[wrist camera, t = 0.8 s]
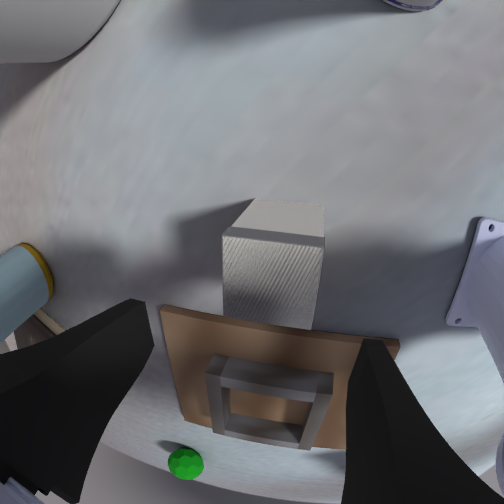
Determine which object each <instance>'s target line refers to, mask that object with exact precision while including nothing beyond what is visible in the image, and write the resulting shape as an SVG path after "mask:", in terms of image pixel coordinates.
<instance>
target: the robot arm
mask: <svg viewBox="0 0 504 504" xmlns="http://www.w3.org/2000/svg"><path fill="white" fill-rule="evenodd" d="M491 224H492V227H491V229H490V230H488V228H489V225H491ZM458 318H459V319H458ZM456 319H458V320H457V321H456ZM446 323H447V324H448V325H449V326H461V327H478V329H479V331H480V333H481V335H482V337H483V339H484V341H485V343H486V345H487V347H488V349H489V351H490V353H491V355H492V358H493V360H494V362H495V364H496V366H497V369H498V371H499V373H500V375H501V378H502V380H503V383H504V222H503V221H499V220H495V219H491V218H486V217H483V218H481V219H480V220H479V222H478V224H477V228H476V232H475V236H474V239H473V243H472V246H471V250H470V253H469V256H468V260H467V263H466V266H465V269H464V272H463V275H462V278H461V280H460V283H459V286H458V289H457V291H456V294H455V297H454V299H453V302H452V304H451V307H450V309H449V311H448V314H447V316H446ZM153 347H154V342H153V337H152V333H151V329H150V324H149V319H148V315H147V310H146V305H145V302H143V301H139V300H135V299H128V300H126V301H124V302H122V303H119V304H117V305H115V306H113V307H111V308H109V309H108V310H106V311H104V312H102V313H100V314H98V315H96V316H94V317H92V318H90V319H88V320H86V321H84V322H83V323H81V324H79V325H77V326H75V327H72V328H70V329H68V330H66V331H64V332H62V333H60V334H58V335H56V336H54V337H51V338H49V339H46V340H44V341H42V342H39V343H36V344H33V345H31V346H28V347H25V348H21V349H18V350H14V351H11V352H7V353H4V354H0V504H44V503H43V502H42V501H40V500H39V499H38V498H37V497H36V496H34V495H35V494H36V492H37V491H38V490H39V491H40V492H41V493H43V494H44V495H46V496H47V495H48V494H49V492H50V491H52V492H53V493H55V494H56V495H58V496H59V497H61V498H62V499H64V500H65V501H67V502H68V503H70V504H76V503H78V502H79V500H80V495H81V492H82V488H83V484H84V481H85V477H86V474H87V471H88V468H89V465H90V463H91V460H92V457H93V455H94V453H95V450H96V448H97V445H98V443H99V441H100V439H101V436H102V434H103V432H104V430H105V428H106V426H107V424H108V422H109V420H110V419H111V417H112V415H113V413H114V412H115V410H116V409H117V407H118V406H119V404H120V403H121V401H122V400H123V398H124V397H125V395H126V394H127V392H128V391H129V389H130V388H131V386H132V385H133V383H134V382H135V380H136V379H137V377H138V376H139V374H140V373H141V371H142V370H143V368H144V366H145V364H146V362H147V360H148V358H149V356H150V354H151V352H152V349H153ZM496 473H497V479H498V482H499V486H500V488H501V491H502V493H503V495H504V434H503V436H502V438H501V440H500V442H499V445H498V449H497V453H496ZM341 504H504V498H503V497H502V496H500V495H499V494H498V493H496V492H495V491H494V490H492V489H491V488H490V487H489V486H488V485H487V484H486V483H485V482H484V481H482V480H481V479H480V478H479V477H478V476H477V475H476V474H475V473H474V472H473V471H472V470H471V469H470V468H469V467H468V466H467V465H466V464H465V463H464V461H463V460H462V459H461V458H460V457H459V456H458V455H457V454H456V453H455V452H454V450H453V449H452V448H451V447H450V446H449V444H448V443H447V442H446V441H445V439H444V438H443V437H442V435H441V434H440V433H439V432H438V430H437V429H436V428H435V426H434V425H433V423H432V422H431V421H430V419H429V418H428V416H427V415H426V413H425V412H424V410H423V408H422V407H421V405H420V404H419V402H418V401H417V399H416V397H415V396H414V394H413V392H412V391H411V389H410V387H409V386H408V384H407V382H406V381H405V379H404V377H403V376H402V374H401V372H400V370H399V368H398V367H397V365H396V363H395V361H394V360H393V358H392V356H391V354H390V352H389V350H388V349H387V347H386V345H385V343H384V342H383V340H378V339H368V338H363V341H362V344H361V347H360V350H359V353H358V356H357V359H356V361H355V364H354V367H353V370H352V372H351V375H350V377H349V380H348V387H347V399H346V473H345V483H344V489H343V495H342V501H341Z"/></svg>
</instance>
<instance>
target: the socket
mask: <svg viewBox="0 0 504 504" xmlns="http://www.w3.org/2000/svg"><path fill="white" fill-rule="evenodd" d="M160 315H161V320H162V325H163V331H164V336H165V341H166V346H167V350H168V355H169V359H170V364H171V368H172V373H173V377H174V381H175V385H176V389H177V393H178V397H179V401H180V405H181V408H182V412H183V416H184V419H185V421H188V422H191V423H195V424H198V425H202V426H205V427H209V428H212V429H213V433H217V434H221V435H225V436H229V437H234V438H238V439H243V440H247V441H252V442H258V443H263V444H268V445H274V446H281V447H287V448H295V449H302V450H310V449H311V447H320V448H331V449H346V399H347V387H348V380H349V377H350V375H351V372H352V370H353V367H354V364H355V361H356V359H357V356H358V353H359V350H360V347H361V344H362V341H363V338H368V339H378V340H383V342H384V343H385V345H386V347H387V349H388V350H389V352H390V354H391V356H392V358H393V360H395V358H396V356H397V353H398V351H399V349H400V343H399V340H398V339H386V338H375V337H364V336H355V335H345V334H337V333H328V332H320V331H312V330H305V329H298V328H291V327H284V326H277V325H271V324H264V323H258V322H252V321H246V320H240V319H235V318H229V317H224V316H218V315H213V314H208V313H203V312H198V311H193V310H188V309H183V308H178V307H174V306H169V305H164V306H163V307H162V308H161V309H160Z"/></svg>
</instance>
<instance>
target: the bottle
mask: <svg viewBox="0 0 504 504" xmlns="http://www.w3.org/2000/svg"><path fill="white" fill-rule="evenodd" d="M52 292H53V278H52V275H51V272H50V269H49V267H48V265H47V263H46V261H45V260H44V258H43V257H42V255H41V254H40V253H39V252H38V251H37V250H36V249H35V248H34V247H32V246H30V245H27V244H22V243H21V244H19V245H17V246H15V247H13V248H12V249H10V250H9V251H7V252H5V253H4V254H2V255H0V343H1V342H2V341H3V340H4V339H6V338H7V337H8V336H9V335H10V334H11V333H12V332H13V331H14V330H15V329H17V328H18V327H19V326H20V325H21V324H22V323H23V322H24V321H26V320H27V319H28V318H29V317H30V316H31V315H33V314H34V313H35V312H36V311H37V310H38V309H40V308H41V307H42V306H43V305H44V304H46V303H47V301H49V300H50V298H51V297H52Z"/></svg>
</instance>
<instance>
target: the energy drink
mask: <svg viewBox="0 0 504 504" xmlns="http://www.w3.org/2000/svg"><path fill="white" fill-rule="evenodd" d="M383 1H384V2H386V3H388V4H390V5H393V6H395V7H398V8H401V9H404V10H410V11H425V10H429V9H432V8H434V7H435V6H437V5H438V4H439V3H440V2H441V1H442V0H383Z"/></svg>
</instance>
